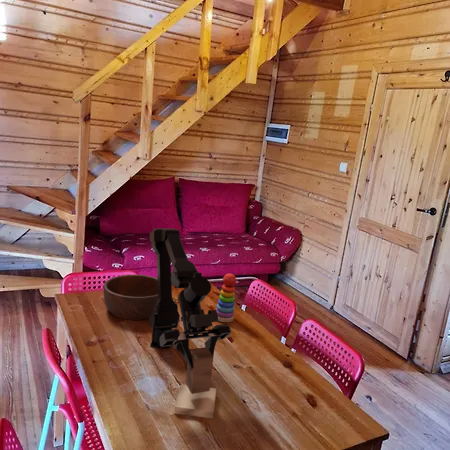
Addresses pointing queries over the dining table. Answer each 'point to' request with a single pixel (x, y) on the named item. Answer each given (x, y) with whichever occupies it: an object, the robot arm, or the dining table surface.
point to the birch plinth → (195, 402)
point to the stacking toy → (226, 299)
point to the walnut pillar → (199, 370)
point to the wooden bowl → (131, 296)
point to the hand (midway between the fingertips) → (201, 367)
